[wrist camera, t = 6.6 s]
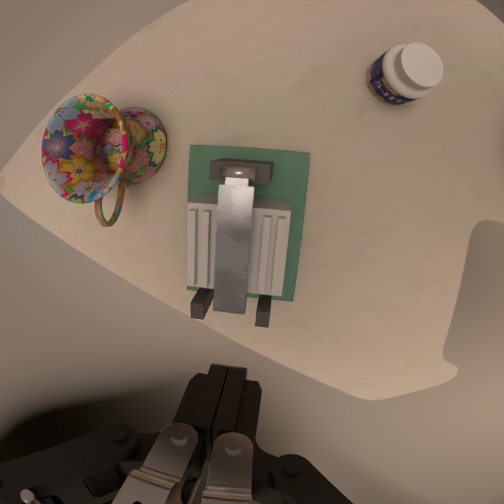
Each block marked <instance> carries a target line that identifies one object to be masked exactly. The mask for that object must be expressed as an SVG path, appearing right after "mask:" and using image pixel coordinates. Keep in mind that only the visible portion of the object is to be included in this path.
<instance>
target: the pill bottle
mask: <svg viewBox="0 0 504 504" xmlns="http://www.w3.org/2000/svg"><path fill="white" fill-rule="evenodd" d="M443 73H444V69H443V64H442V61H441V59H440V57H439V55H438V54H437V53H436V52H435V51H434V50H433V49H432V48H431V47H429V46H428V45H426V44H423V43H418V42H415V43H410V44H399V45H396V46H393V47H392V48H390V49H389V50H388V51H386V52H385V53H384V54H383V55H382V56H381V57H379V58H378V59H377V60H376V61H375V62H374V63H373V64H372V65H371V66H370V68H369V70H368V73H367V81H368V85H369V88H370V90H371V92H372V93H373V94H374V95H375V96H376V97H377V98H378V99H379V100H380V101H382V102H384V103H386V104H390V105H399V104H403V103H406V102H409V101H413V100H416V99H420V98H423V97H425V96H427V95H428V94H430V93H431V91H432V90H433V89H434V87H435V86H436V85H437V84H438V83H439V82H440V81H441V80H442V77H443Z"/></svg>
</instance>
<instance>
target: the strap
mask: <svg viewBox="0 0 504 504" xmlns="http://www.w3.org/2000/svg"><path fill="white" fill-rule="evenodd" d="M219 177H220V178H226V180H225V184H219V191H218V208H217V227H216V248H215V273H214V302H213V311H221V312H229V313H237V314H245V311H246V297H247V284H248V271H249V258H250V245H251V232H252V218H253V205H254V192H255V186H249V180H255V179H256V168H250V167H236V166H220V170H219Z"/></svg>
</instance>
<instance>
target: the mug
mask: <svg viewBox="0 0 504 504" xmlns="http://www.w3.org/2000/svg"><path fill="white" fill-rule="evenodd" d="M165 150H166V137H165V132H164V129H163V127H162V125H161V123H160V121H159V120H158V119H157V118H156V117H155V115H153V114H152V113H151V112H149V111H147V110H145V109H142V108H136V107H132V108H126V109H123V110H121V111H118V109H117V108H116V107H115V106H114V105H113V104H112V103H111V102H110V101H109V100H107V99H105V98H104V97H101V96H98V95H94V94H82V95H78V96H75V97H73V98H71V99H69V100H68V101H66V102H65V103H63V104H62V105H61V106H60V107H59V108H58V109H57V110H56V111H55V113H54V114H53V116H52V117H51V119H50V121H49V122H48V125H47V127H46V130H45V133H44V136H43V141H42V163H43V168H44V172H45V175H46V177H47V179H48V181H49V183H50V185H51V186H52V188H53V189H54V190H55V191H56V192H57V193H58V194H59V195H60V196H61V197H63V198H64V199H66V200H68V201H71V202H74V203H90V202H93V201H95V214H96V217H97V220H98V222H99V223H100V224H101V225H102V226H104V227H109V226H112V225H113V224H114V223H115V222H116V221H117V219H118V217H119V214H120V212H121V208H122V205H123V200H124V192H125V187H127V186H129V184H133V183H139V182H141V181H144V180H146V179H147V178H149V177H150V176H151V175H152V174H153V173H154V172H155V171H156V170H157V169H158V167H159V166H160V164H161V162H162V160H163V157H164V154H165ZM117 181H119V186H118V196H117V202H116V206H115V210H114V212H113V215H112V217H111V219H110V220H109V221H108V222H107V221H106V220H105V218H104V216H103V212H102V198H103V196H105V195H106V194H107V193H108V192H109V191H110V190H111V189H112V188H113V187H114V185H115V184H116V183H117Z"/></svg>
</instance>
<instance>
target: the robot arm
mask: <svg viewBox="0 0 504 504" xmlns="http://www.w3.org/2000/svg"><path fill="white" fill-rule="evenodd" d="M261 393H262V390H261V387H260V385H259V383H258V381H251V380H247V368H242V367H234V366H230V367H229V366H227V365H220V364H213V363H212V364H211V366H210V369H209V372H208V374H202V373H198V374H196V375H195V376H194V377H193V378H192V379H191V380H190V381H189V384H188V386H187V388H186V391H185V393H184V396H183V398H182V400H181V403H180V405H179V408H178V410H177V412H176V415H175V417H174V420H173V422H172V424H170V425H168V426H166V427H165V428H163V430H162V431H161V432H158V433H137V431H136V430H135V429H134V428H133V427H132V426H130V425H128V424H125V423H115V424H112V425H109V426H107V427H104V428H102V429H100V430H97V431H94V432H92V433H90V434H87V435H84V436H82V437H79V438H76V439H74V440H71V441H69V442H66V443H63V444H60V445H57V446H55V447H52V448H49V449H46V450H43V451H40V452H37V453H34V454H31V455H28V456H25V457H21V458H18V459H15V460H12V461H8V462H5V463H1V464H0V504H102V503H104V502H106V501H109V500H111V499H114V498H115V499H114V501H113V503H112V504H191V502H192V500H193V497H194V494H195V492H196V489H197V487H198V484H199V482H200V479H201V476H202V470H203V467H204V463H205V461H207V462H210V467H209V474H208V480H207V486H206V489H204V492H203V497H202V503H201V504H251V500H254V501H256V502H259V503H261V504H353V503H352V502H351V501H350V500H348V499H347V498H346V497H345V496H344V495H343V494H342V493H341V492H340V491H339V490H338V489H337V488H336V487H335V486H333V485H332V484H331V483H330V482H329V481H328V480H327V479H326V478H325V477H324V476H323V475H322V474H321V473H320V472H319V471H318V470H317V469H316V468H315V467H314V466H313V465H312V464H311V463H310V462H309V461H308V460H307V459H305V458H304V457H302V456H299V455H294V454H287V455H283V456H280V457H276V456H273V455H271V454H268V453H266V452H264V451H263V450H261V448H260V447H259V446H258V445H257V443H256V439H255V437H256V430H257V424H258V417H259V409H260V401H261Z"/></svg>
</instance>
